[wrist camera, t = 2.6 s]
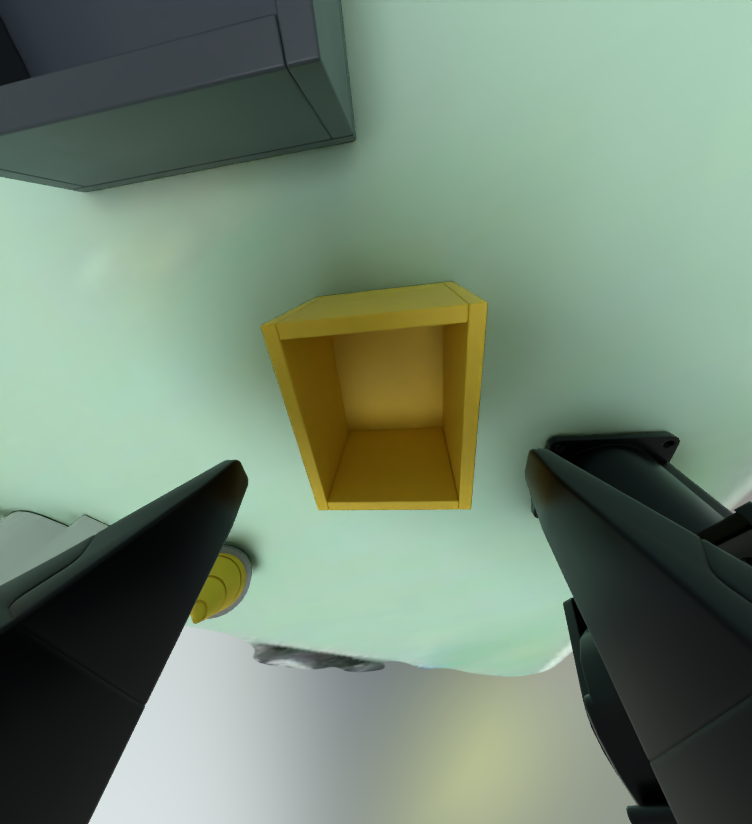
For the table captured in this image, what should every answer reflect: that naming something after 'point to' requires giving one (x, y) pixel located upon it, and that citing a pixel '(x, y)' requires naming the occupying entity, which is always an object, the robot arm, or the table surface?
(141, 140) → the big bin
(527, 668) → the table surface
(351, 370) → the small bin
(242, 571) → the yellow ridged cone
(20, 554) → the grey machine part
